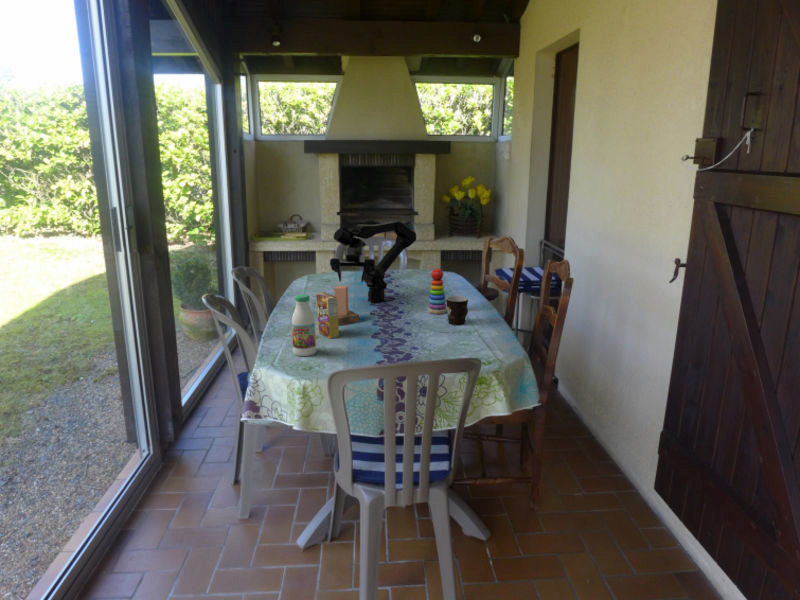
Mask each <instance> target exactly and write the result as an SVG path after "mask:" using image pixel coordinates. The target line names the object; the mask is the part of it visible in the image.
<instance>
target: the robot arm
mask: <svg viewBox="0 0 800 600" xmlns="http://www.w3.org/2000/svg"><path fill="white" fill-rule="evenodd" d="M392 231H393V232H394V233H395V235H396V237H395V242H394V244H392V246H391V248H390V249H389V250H388V251H387V252H386V254H385V255H384V256H383V257H382V258H381V260H380V261H379V262H378V264H377V265H376V261H375V258H365V259H364V261H361V257H362V256H363V248H364V247H366V246H367V244H366V242H364V240H368V239H370V238H372V237H375V235H377V234H382V233H389V232H392ZM362 239H363V240H362ZM333 240H335V241H336V242H337V243H339V244H340V245H342V246H343V247H345V248H344V249H345V250H344V256H345V260H346V261H342V260H341V258H339V257H338V258H337V257H336V258H335V257H334V258H331V259H329V264H330V268H331V270H332V271H333V272H335V273H337V276H338V280H339V283H340V282H342V268H343V267H352V268H363V270H362V274H361V281H360V282H361V283H363V282H364V283H365V285H366V287H368V292H367V296H368V297H367V298H368V299H367V301H368V302H371V303H373V304H377V303H383V302H387V300H386V299H385V290H387V286H388V284H387V282H386V281H385V280H384V279H385V276H386V272H387V271H388V270H389V268H390V267H391V266H392V264H393V263H394V262H395V261H396V260H397V258H398V257H399V256H400V254H401V253H402V252H403V251H404V250H405V249H407V248H409V247H411V246H412V244H414V243H415V242H416V240H417V234H416V231H415V230H411V229H410V228H409V227H408V226H406V225H405V224H404V223H403V222H401V221H400V220H392V221H387V222H383V223H382V222H381V223H376V224H360V223H359V224H356V225H354V228H352V229H350V230H349V229H348V228H347V227H345V226H344V225H341V226H340V228H338V229H337V230H336V231H335V232H334V234H333ZM347 246H348V247H347Z"/></svg>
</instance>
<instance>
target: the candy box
mask: <svg viewBox="0 0 800 600" xmlns="http://www.w3.org/2000/svg"><path fill="white" fill-rule="evenodd" d="M315 297H316V299H315V300H316V301H315V302H316V311H317V312H316V313H317V315H316V316H317V327H318V328H317V331H318V333H319V334H320V335H322V336H325V338H328V339H336V338H338V337H340V336H339V335H340V334H339V331H340V330H339V329H340V328H339V326H338V305H337V297H335V295H333V294H330V293H327V292H319V293H316V294H315Z"/></svg>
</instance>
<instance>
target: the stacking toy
mask: <svg viewBox="0 0 800 600" xmlns="http://www.w3.org/2000/svg"><path fill="white" fill-rule="evenodd" d="M430 275H431V276H430V277H431V278H432V280H431V285H430V291H429V292H430V295H429V300H428V302H429V303H428V309H427V311H428V312H429V313H430V314H433V315H442V314H443V315H444V314H446V313H447V303H446V294H445V290H444V288H445V287H444V280H443V277H444V271H443V270H442V269H441V268H434V269H433V270H432V271H431V273H430Z"/></svg>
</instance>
